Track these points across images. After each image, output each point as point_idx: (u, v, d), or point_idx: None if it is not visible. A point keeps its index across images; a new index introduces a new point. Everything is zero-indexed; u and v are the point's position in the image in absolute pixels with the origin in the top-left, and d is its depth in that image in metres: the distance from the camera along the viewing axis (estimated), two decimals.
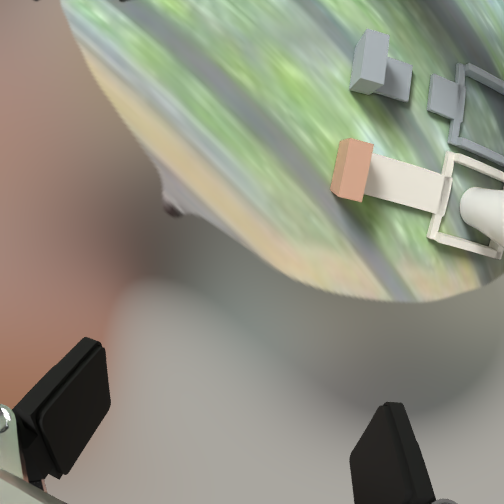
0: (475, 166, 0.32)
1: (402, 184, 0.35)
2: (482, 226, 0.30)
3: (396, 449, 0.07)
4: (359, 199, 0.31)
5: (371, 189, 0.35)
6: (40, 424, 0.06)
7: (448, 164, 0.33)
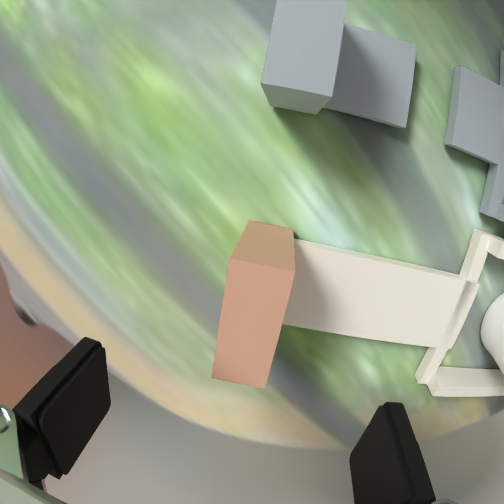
0: None
1: (378, 306, 0.18)
2: None
3: (396, 449, 0.07)
4: (258, 385, 0.14)
5: (312, 318, 0.19)
6: (40, 424, 0.06)
7: (476, 259, 0.16)
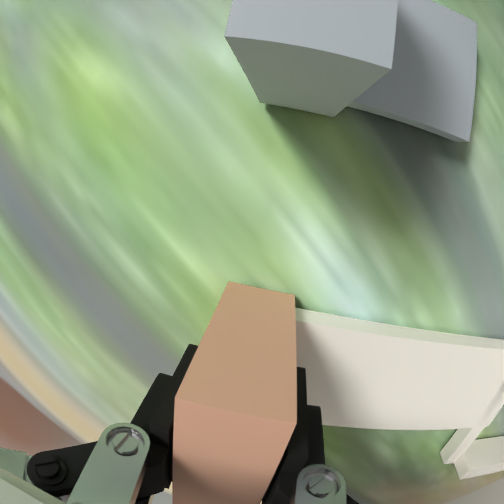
0: None
1: (409, 394, 0.12)
2: None
3: None
4: None
5: None
6: None
7: None
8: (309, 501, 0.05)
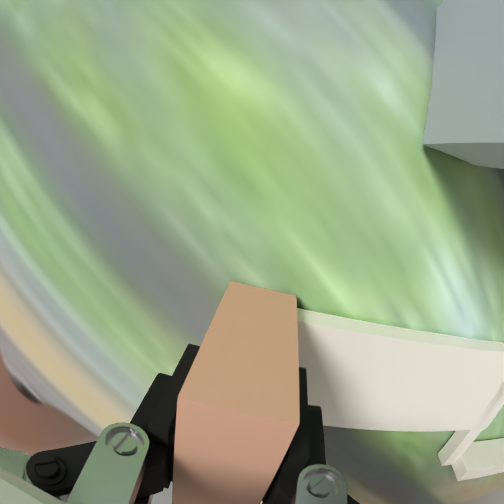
0: None
1: (409, 395, 0.12)
2: None
3: None
4: None
5: None
6: (174, 436, 0.07)
7: None
8: (310, 501, 0.05)
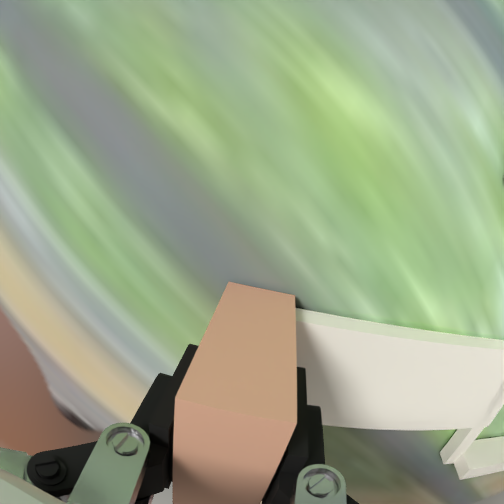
0: None
1: (409, 394, 0.12)
2: None
3: None
4: None
5: None
6: None
7: None
8: (309, 501, 0.05)
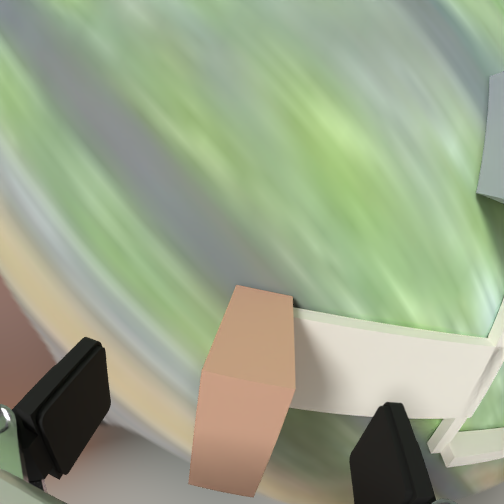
0: None
1: (394, 384, 0.14)
2: None
3: (396, 449, 0.07)
4: (246, 494, 0.09)
5: (313, 399, 0.14)
6: (40, 424, 0.06)
7: None
8: None
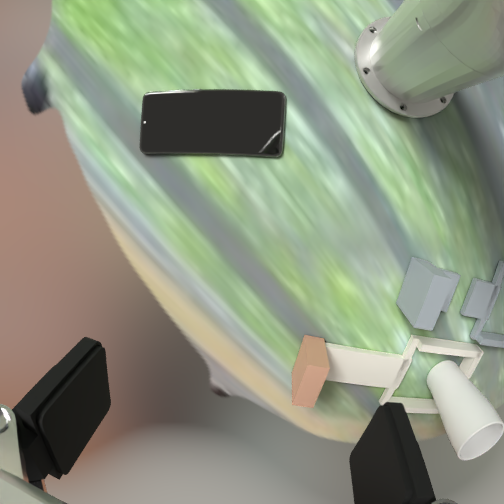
0: (436, 352, 0.35)
1: (360, 370, 0.38)
2: None
3: (396, 449, 0.07)
4: (311, 406, 0.34)
5: (329, 375, 0.39)
6: (40, 424, 0.06)
7: (410, 349, 0.37)
8: None
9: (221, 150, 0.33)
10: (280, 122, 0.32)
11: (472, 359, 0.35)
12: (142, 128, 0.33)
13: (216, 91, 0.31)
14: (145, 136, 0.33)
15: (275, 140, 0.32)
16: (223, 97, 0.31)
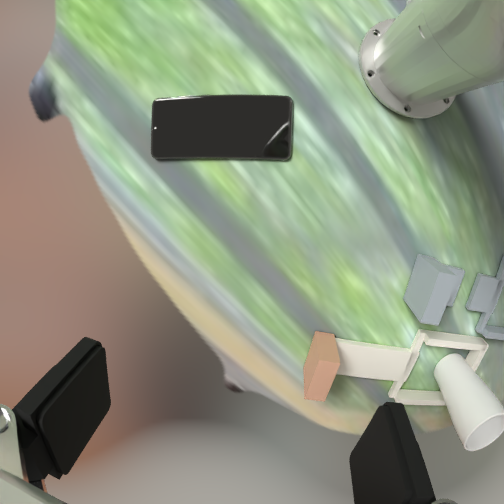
0: (443, 345, 0.36)
1: (369, 364, 0.39)
2: None
3: (396, 449, 0.07)
4: (322, 400, 0.35)
5: (340, 369, 0.40)
6: (40, 424, 0.06)
7: (417, 343, 0.38)
8: None
9: (231, 154, 0.34)
10: (288, 126, 0.33)
11: (478, 352, 0.36)
12: (153, 134, 0.34)
13: (224, 96, 0.32)
14: (156, 141, 0.34)
15: (283, 144, 0.33)
16: (231, 102, 0.32)
